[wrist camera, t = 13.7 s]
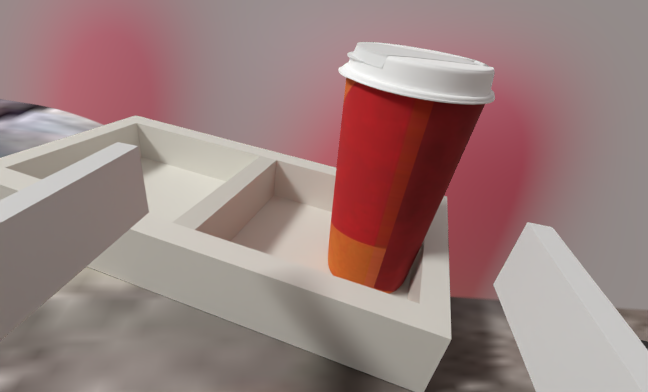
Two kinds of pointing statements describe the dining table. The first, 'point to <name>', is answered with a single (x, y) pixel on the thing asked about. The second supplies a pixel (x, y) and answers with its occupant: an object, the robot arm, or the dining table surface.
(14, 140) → the dining table surface
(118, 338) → the dining table surface
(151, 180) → the cup carrier
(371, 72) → the paper cup
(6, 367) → the dining table surface
